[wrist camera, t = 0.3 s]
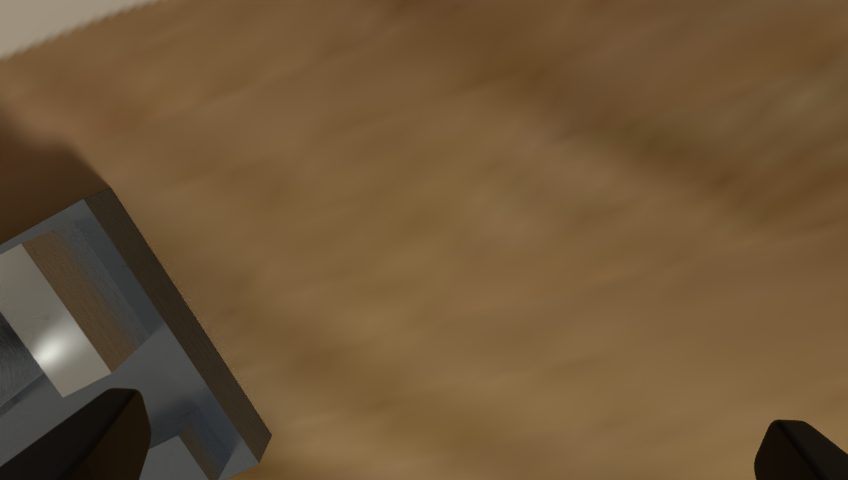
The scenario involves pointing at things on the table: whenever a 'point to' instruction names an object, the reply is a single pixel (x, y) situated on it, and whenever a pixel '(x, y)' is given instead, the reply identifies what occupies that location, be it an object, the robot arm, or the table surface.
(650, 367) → the table surface
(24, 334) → the vise
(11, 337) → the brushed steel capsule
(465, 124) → the table surface
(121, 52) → the table surface
